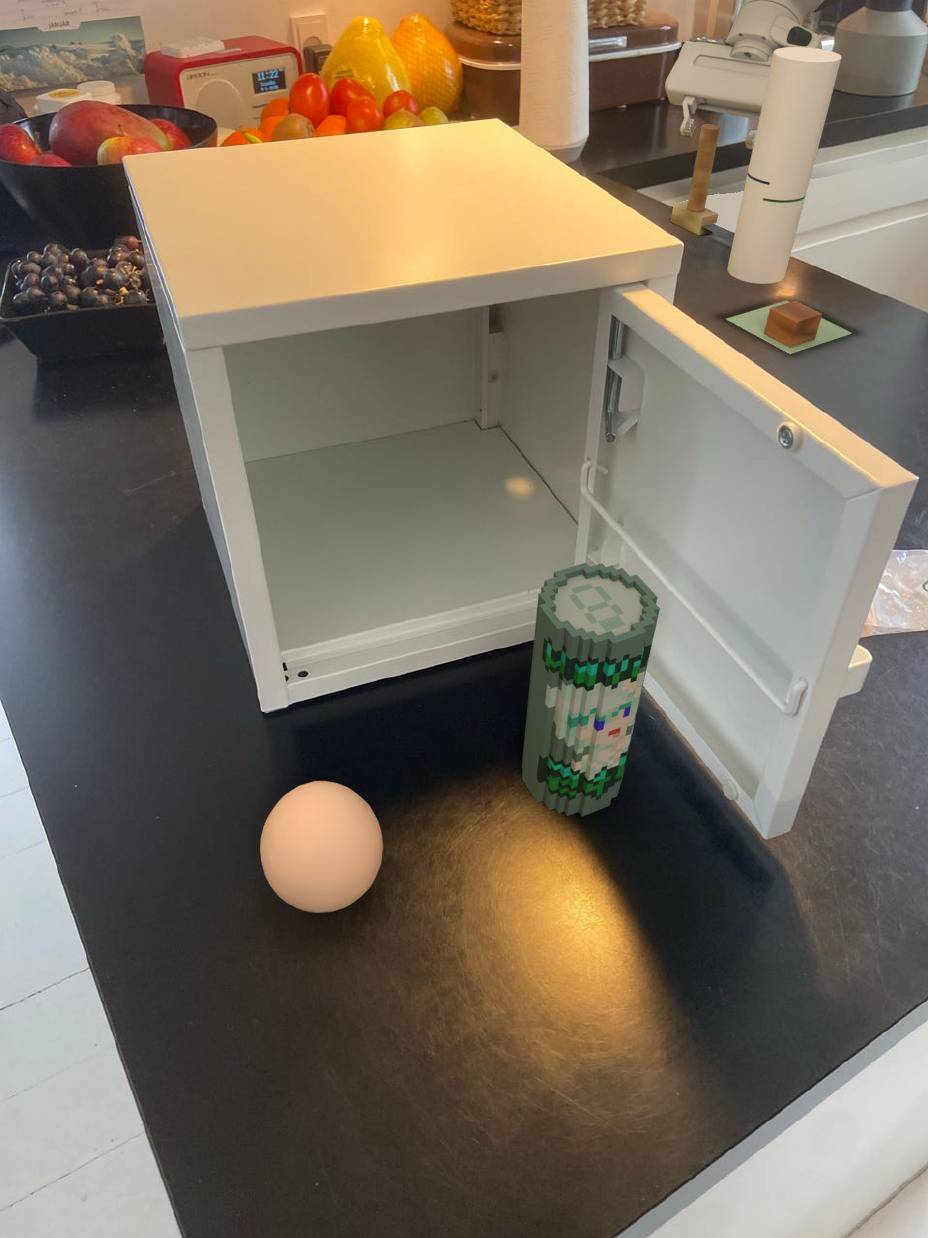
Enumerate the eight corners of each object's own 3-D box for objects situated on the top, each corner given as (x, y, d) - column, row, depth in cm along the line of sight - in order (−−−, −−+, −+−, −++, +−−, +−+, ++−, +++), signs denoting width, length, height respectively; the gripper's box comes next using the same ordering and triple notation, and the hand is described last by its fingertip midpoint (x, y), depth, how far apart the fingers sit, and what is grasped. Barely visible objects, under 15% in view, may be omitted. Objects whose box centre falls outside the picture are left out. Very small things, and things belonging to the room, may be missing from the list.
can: (553, 828, 56) (578, 655, 45) (507, 756, 60) (521, 582, 49) (637, 794, 58) (679, 620, 47) (587, 726, 62) (616, 553, 51)
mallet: (670, 222, 131) (686, 121, 122) (685, 218, 132) (703, 118, 123) (699, 235, 127) (718, 133, 118) (714, 231, 128) (735, 130, 120)
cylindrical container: (745, 264, 120) (795, 43, 103) (793, 281, 116) (853, 55, 99) (714, 279, 116) (760, 53, 99) (763, 297, 112) (820, 65, 95)
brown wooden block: (788, 325, 104) (795, 300, 102) (815, 339, 102) (822, 313, 100) (763, 333, 103) (769, 307, 101) (789, 347, 100) (797, 321, 98)
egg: (406, 900, 52) (402, 819, 46) (299, 959, 49) (281, 880, 44) (353, 817, 56) (343, 733, 51) (251, 866, 53) (229, 784, 48)
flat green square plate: (783, 309, 110) (786, 300, 109) (849, 342, 104) (852, 332, 103) (723, 328, 106) (725, 318, 105) (787, 363, 100) (790, 353, 99)
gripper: (684, 17, 125) (643, 112, 126) (833, 38, 117) (787, 139, 118) (691, 49, 131) (652, 140, 132) (833, 71, 123) (790, 167, 124)
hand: (717, 140), depth 125 cm, fingers open, 8 cm apart
